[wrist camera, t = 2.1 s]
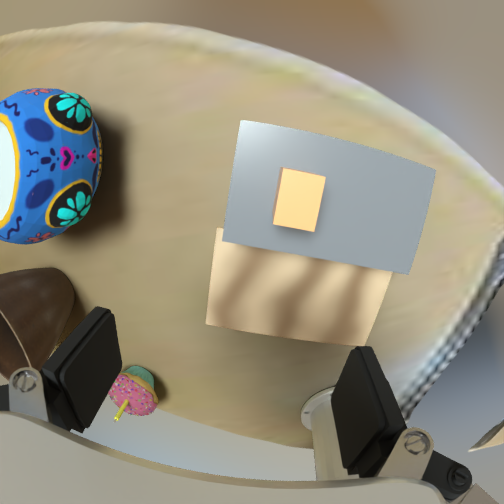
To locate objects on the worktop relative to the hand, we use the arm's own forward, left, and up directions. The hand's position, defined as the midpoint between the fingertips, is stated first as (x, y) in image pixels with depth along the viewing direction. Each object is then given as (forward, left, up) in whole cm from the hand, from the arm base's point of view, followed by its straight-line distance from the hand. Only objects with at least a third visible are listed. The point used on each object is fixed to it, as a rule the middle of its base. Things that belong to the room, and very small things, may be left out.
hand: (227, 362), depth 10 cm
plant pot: (+29, +15, -23) cm, 40 cm away
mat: (-7, +8, -23) cm, 25 cm away
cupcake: (+14, +28, -23) cm, 39 cm away
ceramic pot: (+25, -5, -23) cm, 35 cm away
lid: (-7, -5, -17) cm, 19 cm away
